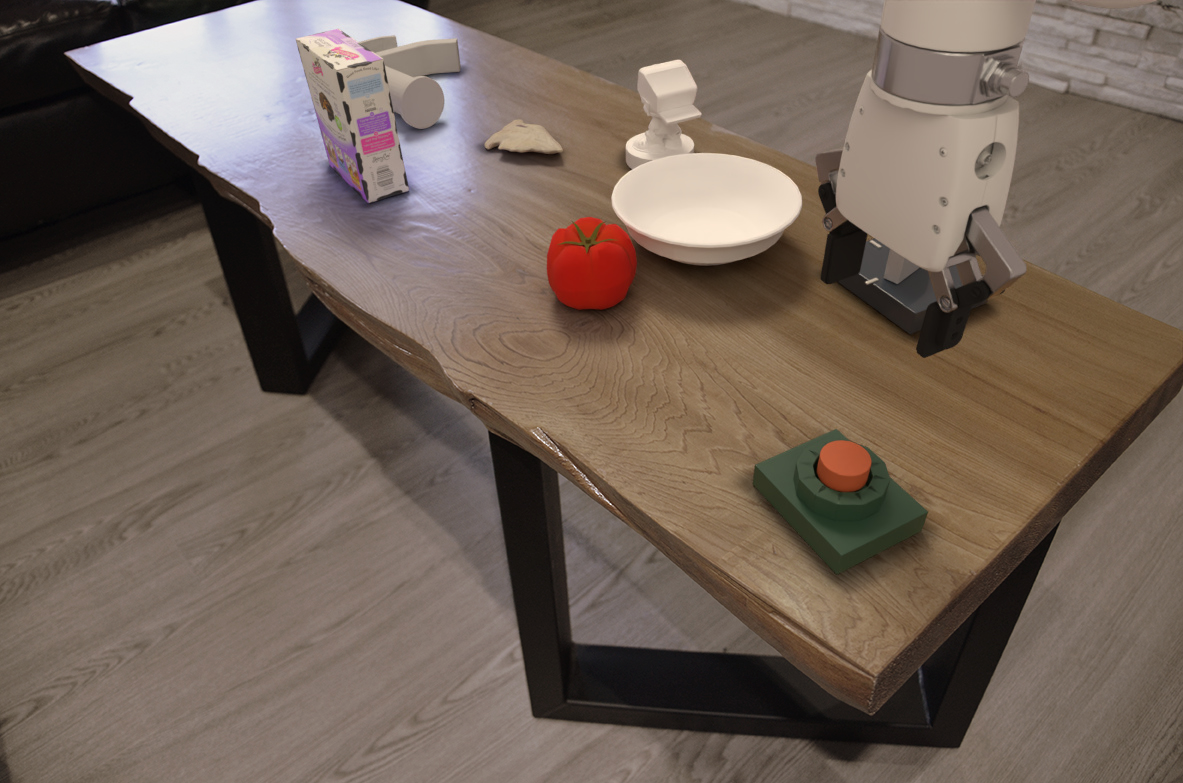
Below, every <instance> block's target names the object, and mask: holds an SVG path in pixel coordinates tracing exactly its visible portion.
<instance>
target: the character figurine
mask: <svg viewBox="0 0 1183 783" xmlns="http://www.w3.org/2000/svg"><path fill="white" fill-rule="evenodd" d="M636 86H637V88H636V89H637V93H638V94H639V97H640V101H641V104H643V106H642V107H643V108H642V109H643V112H644V113H645V114H646V115H647V117H651V119H650V122H649V124H648V126H647V128H648V129H647V130H646V131H644V132H641V133H639V134H636V135H634V136H632V137H630V138H629V139H628V140H627V141H626V144H625V164H626V165H627V166H628V168H629V169H631V170H633V169H634V168H636V167H638V166H640V165H642V164H645V163H647V162H650V161H653V160H656V159H660V158H664V157H668V156H674V155H681V154H692V153H695V143H694V140H693V139H692V138H691V137H690V136H689V135H687V134H684V133H682V132H683V131H682V128H681V127H680V125H679V124H680V123H685V122H688V121H693V120H696V119H700V118H702V115H703V114H702V112H701V111H700V110H699V109H698V108H697V107H696V106H695V105H694V103H695V101H696V96H697V92H698V85H697V83H696V82H695V79H694V78H693V75H692V73H691V72H690V70H689V68H688V66H687V64H686V63H684V62H683V60H681V59H674V60H669V61H666V62H662V63H661V62H660V63H654V64H652V65H648V66H642V67H641V68H639V70H638V74H637V84H636Z"/></svg>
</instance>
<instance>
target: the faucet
mask: <svg viewBox="0 0 1183 783" xmlns="http://www.w3.org/2000/svg"><path fill="white" fill-rule="evenodd" d="M397 40H398V39H397V36H396V35H395V34H394V35H382V36H376V37H372V38H369V39H365V40H360V41H358V42H359V43H360V44H362V45H363V46H365V47H366V48H368V49H369V50H371V51H372V52H374V53H375V54H377V55H378V56H380V57H381V58H383V59H384V65H385V70H386V75H387V80H388V85H389V91H390V95H391V100H392V105H393V111H394V113H396V114H399V115H400V116H401V118H402V120H403V121H404V122H405V123H406V124H407V125H409V126H411V127H413V128H415V129H419V130H422V129H423V130H425V129H428V128H430V127H433V125H435V124H436V123H437V122H438V121H439V120H440V118H441V116H442V114H443V112H444V108H445V94H444V91H443V89H442V88H443V87H441V85H440V84H439V82H437V81H436V80H435V79H434V78H431V77H429V76H428V75H433V74H434V75H435V74H448V73H460V72H461V70H462V67H461V57H460V49H459V41H458V38H457V37H456V38H440V39H427V40H421V41H415V42H412V43H408V44H403V45H399V46H398V41H397Z"/></svg>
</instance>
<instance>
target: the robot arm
mask: <svg viewBox="0 0 1183 783" xmlns="http://www.w3.org/2000/svg"><path fill="white" fill-rule="evenodd" d="M1069 1H1071V2H1073V3H1075V4H1080V5H1084V6H1088V7H1091V8H1092V7H1093V8H1097V9H1098V8H1100V9H1107V10H1119V9H1132V8H1137V7H1141V6H1144V5H1149V4H1151V3H1155V2H1157V1H1158V0H1069ZM1036 3H1037V0H884V1H883V7H882V11H881V12H882V13H881V18H880V25H879V29H878V33H877V40H876V45H875V52H874V55H873V56H874V57H873V63H872V66H871V67H872V68H871V69H870V70H869V71H868V72H867V73H866V75H865V78H864V80H863V82H862V85H861V87H860V90H859V93H858V96H857V99H856V102H855V105H854V108H853V110H852V115H851V117H850V120H849V125H848V128H847V132H846V135H845V141H844V144H843V147H839V148H832V149H828V150H826V151H822V152H818V153H816V155H815V156H814V157H815V158H814V160H815V167H816V168H815V169H816V173H817V179H818V183H820V185H819V186H818V188H817V194H818V197H819V201H820V202H821V205H822V208H823V211H824V213H825V215H823V217H822V221H821V222H822V226H823V228H824V230H825V231H827V232H829V233H827V234H826V242H825V246H824V253H823V259H822V266H821V271H820V276H819V278H820V281H821V282H822V283H824V284H825V285H831V284H834V283H838V282H837V281H840V280H843V279H846V278H848V277H851V276H854V275H857V274H858V273H859V272H860V269H861V264H862V259H863V255H864V250H865V245H866V241H868V235H869V236H870V237H872V239H874V238H875V239H876V240H878V241H879V242H881V243H882V244H884V245H885V246H887V247H889V248H890V249H892V250H893V251H895V252H896V253H898V254H899V255H901V256H902V257H904V258H906V259H907V260H909V261H910V262H912V263H914V264H915V265H917V266H919V267H920V268H923V269H925V270H928V273H929V276H930V280H931V283H932V286H933V289H934V293H935V296H936V299H937V301H936V302H933V303H931V304H929V305H928V307H927V310H926V313H925V317H924V321H923V324H922V328H921V330H920V331H919V336H918V338H917V343H916V347H915V350H916V354H917V355H919V356H920V357H921V358H922V359H926V358H928V357H931V356H934V355H936V354H938V353H941V352H944V351H945V350H949V349H952V348H954V347H956V346H957V345H959V343H960V342H961V340H963V339H962V338H963V336H964V333H965V330H966V326H967V324H968V321H969V318H970V315H971V311H972V309H971V308H972V305H973V304H976V303H979V302H982V301H985V300H987V299H988V300H991V299H992V298H994V297H998V296H1001V295H1002V294H1004V293H1005V291H1006V290H1007V289H1008V288H1009V287H1011V286H1012V285H1013V284H1015V283H1016V282H1017V281H1018V280H1020V278H1022V277H1023V276H1024V275H1025V274H1026V273H1027V269H1028V268H1027V264H1026V262H1025V260H1024V259H1023V258H1022V256H1021V255H1020V254H1019V252H1018V251H1017V249H1016V248H1015V246H1014V244H1012V242H1011V240H1010V239H1009V238H1008V236H1006V234H1005V232H1004V231H1003V229H1002V228H1001V224H1002V221H1003V217H1004V213H1005V210H1006V205H1007V201H1008V197H1009V192H1010V188H1011V183H1012V178H1013V173H1014V167H1015V163H1016V162H1015V161H1016V156H1017V155H1016V154H1017V148H1018V147H1017V146H1018V139H1019V138H1018V137H1019V126H1020V101H1018V100H1017V99H1015V98H1018V97H1019V96H1021V95H1022V94H1023V92H1025V90H1026V88H1027V87H1028V86H1029V85H1028V84H1029V82H1030V74H1029V73H1028V72H1027V71H1024V70H1023V69H1020V66H1019V65H1018V64H1019V61H1020V57H1021V54H1022V51H1023V47H1024V44H1025V40H1026V37H1027V34H1028V30H1029V26H1030V23H1031V20H1032V16H1033V14H1034V9H1035V6H1036ZM978 256H979V257H980V258H981V259H982V262H984V265H985V267H986V268H985V272H984V274H982V273H981V269H980V266H979V263H978V259H977V257H978ZM955 265H956V266H957V270H958V273H959V276H960V279H961V283H962V286H961V287H958V288H956V289H955V286H954V283H953V279H952V276H951V273H950V270H949V267H952V266H955ZM982 275H983V276H982Z"/></svg>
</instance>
